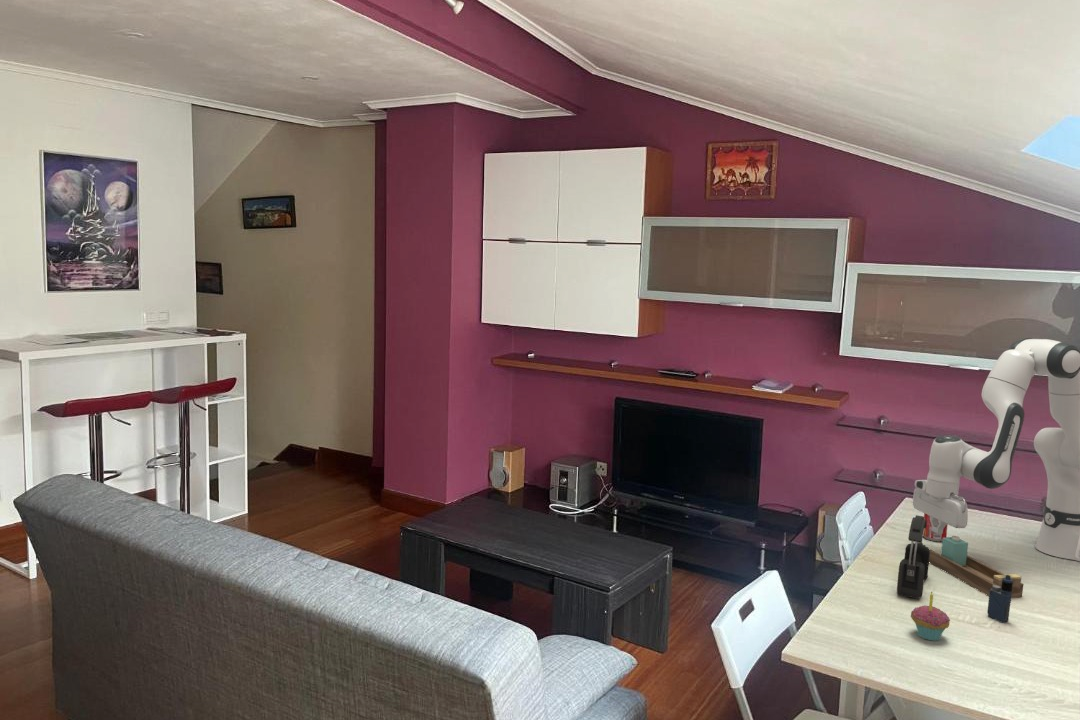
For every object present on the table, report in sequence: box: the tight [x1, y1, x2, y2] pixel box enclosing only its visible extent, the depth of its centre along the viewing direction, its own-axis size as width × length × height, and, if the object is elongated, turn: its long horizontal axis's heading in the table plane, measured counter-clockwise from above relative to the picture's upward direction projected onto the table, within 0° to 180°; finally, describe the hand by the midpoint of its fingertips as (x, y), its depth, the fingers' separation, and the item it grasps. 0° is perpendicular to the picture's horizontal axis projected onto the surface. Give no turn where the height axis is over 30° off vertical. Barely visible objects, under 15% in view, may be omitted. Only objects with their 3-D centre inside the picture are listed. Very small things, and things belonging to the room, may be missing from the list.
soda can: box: [923, 513, 949, 543], centre depth 267 cm, size 7×7×13 cm
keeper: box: [940, 535, 969, 566], centre depth 241 cm, size 5×5×8 cm
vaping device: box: [987, 574, 1013, 623], centre depth 207 cm, size 3×5×12 cm, turn 27°
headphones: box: [896, 514, 931, 599], centre depth 226 cm, size 22×6×20 cm, turn 150°
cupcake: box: [910, 591, 951, 641], centre depth 196 cm, size 9×8×12 cm
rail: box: [929, 549, 1024, 599], centre depth 234 cm, size 9×27×6 cm, turn 12°
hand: (936, 532), depth 248 cm, fingers closed
